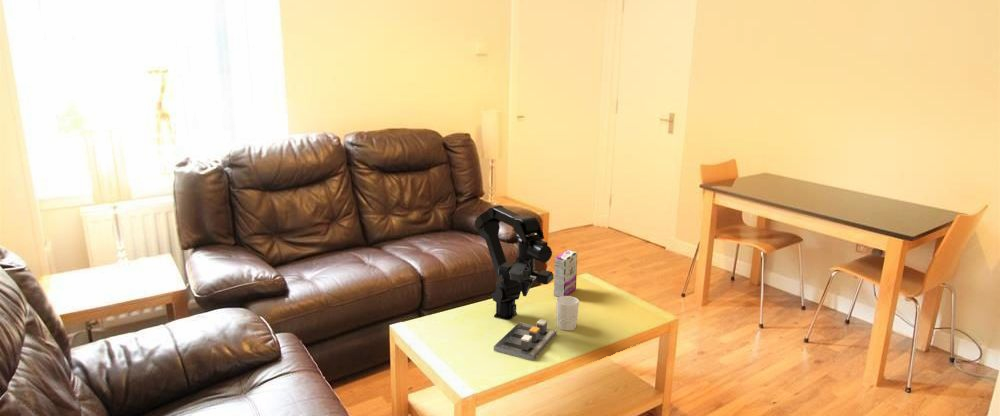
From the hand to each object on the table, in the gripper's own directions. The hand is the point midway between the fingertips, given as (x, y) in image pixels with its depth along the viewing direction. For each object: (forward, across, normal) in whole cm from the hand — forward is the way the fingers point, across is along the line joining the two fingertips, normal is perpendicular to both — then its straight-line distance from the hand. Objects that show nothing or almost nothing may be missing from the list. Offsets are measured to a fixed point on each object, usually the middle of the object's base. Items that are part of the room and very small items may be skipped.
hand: (524, 295), depth 209 cm
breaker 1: (+10, +9, -16) cm, 21 cm away
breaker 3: (+10, +8, -3) cm, 13 cm away
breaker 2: (+10, +8, -10) cm, 16 cm away
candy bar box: (+12, +1, +36) cm, 38 cm away
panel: (+12, +6, -10) cm, 16 cm away
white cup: (+12, +13, +8) cm, 19 cm away
